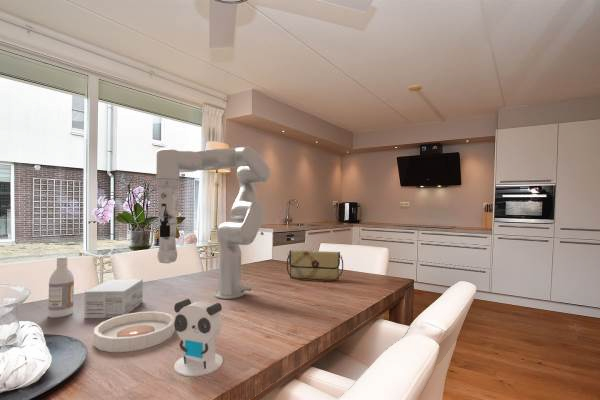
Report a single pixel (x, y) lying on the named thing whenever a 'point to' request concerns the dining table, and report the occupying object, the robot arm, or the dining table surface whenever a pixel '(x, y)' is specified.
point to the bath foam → (61, 290)
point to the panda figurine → (197, 337)
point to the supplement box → (113, 298)
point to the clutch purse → (314, 265)
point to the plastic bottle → (168, 243)
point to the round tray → (133, 331)
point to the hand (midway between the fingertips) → (167, 235)
